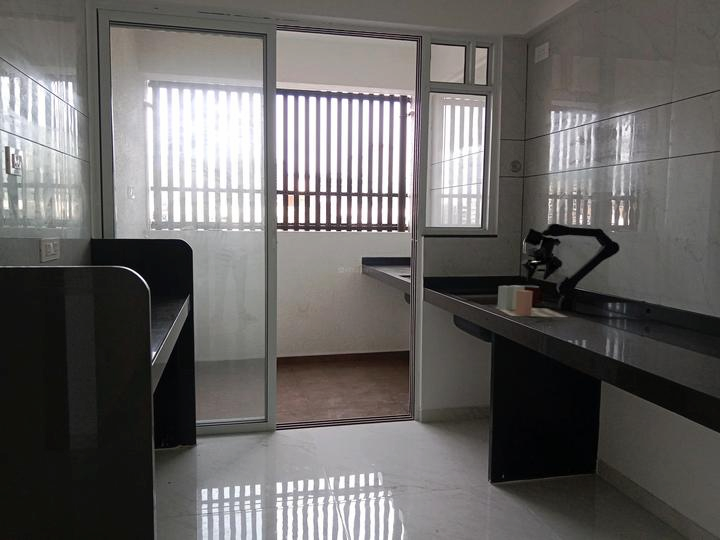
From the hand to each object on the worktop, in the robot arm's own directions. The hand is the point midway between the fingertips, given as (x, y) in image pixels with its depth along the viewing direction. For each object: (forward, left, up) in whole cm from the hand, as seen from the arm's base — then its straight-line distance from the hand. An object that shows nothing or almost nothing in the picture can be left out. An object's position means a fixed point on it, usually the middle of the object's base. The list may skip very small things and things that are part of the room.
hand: (535, 280), depth 246 cm
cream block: (+7, -3, -13) cm, 15 cm away
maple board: (+4, +6, -14) cm, 16 cm away
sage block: (+13, 0, -13) cm, 19 cm away
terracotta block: (+10, +15, -13) cm, 22 cm away
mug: (-4, -13, -14) cm, 20 cm away
